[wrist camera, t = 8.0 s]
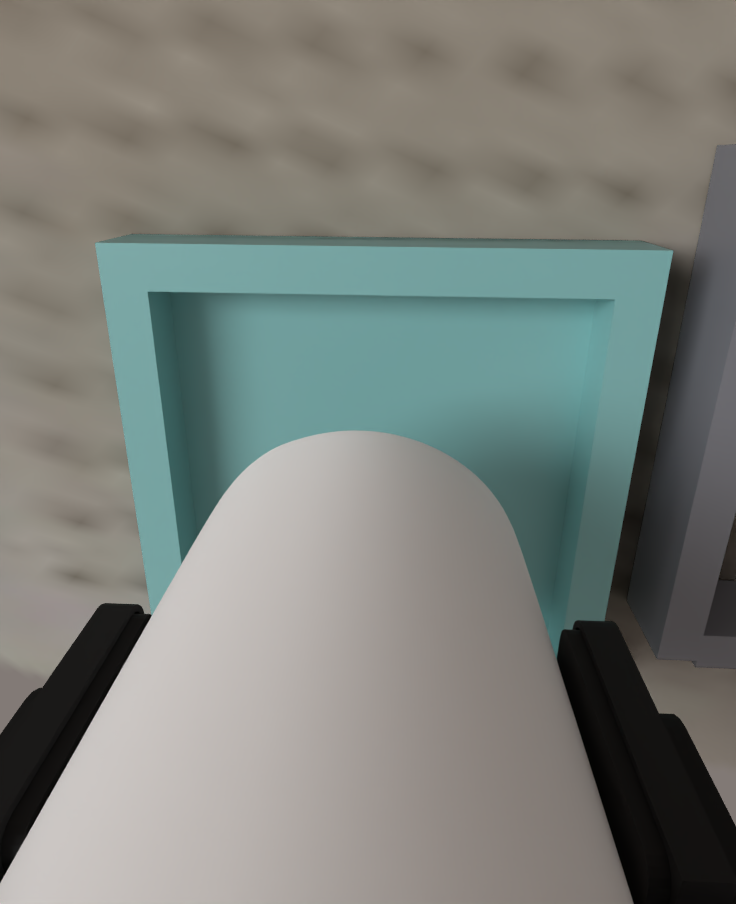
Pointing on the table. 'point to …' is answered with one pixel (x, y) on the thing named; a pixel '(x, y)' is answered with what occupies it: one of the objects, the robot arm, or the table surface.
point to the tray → (391, 376)
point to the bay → (696, 459)
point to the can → (334, 710)
